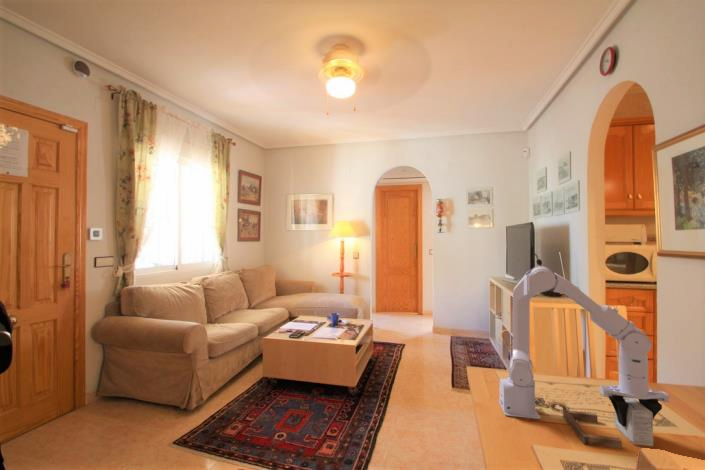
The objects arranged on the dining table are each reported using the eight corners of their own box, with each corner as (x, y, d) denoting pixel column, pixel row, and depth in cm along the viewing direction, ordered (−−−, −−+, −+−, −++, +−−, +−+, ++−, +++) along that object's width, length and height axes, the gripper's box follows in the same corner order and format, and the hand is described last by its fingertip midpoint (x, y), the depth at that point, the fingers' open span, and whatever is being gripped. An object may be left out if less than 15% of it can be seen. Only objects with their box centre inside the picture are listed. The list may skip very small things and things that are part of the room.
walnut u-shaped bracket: (584, 444, 79) (584, 436, 79) (562, 416, 91) (562, 409, 91) (622, 449, 77) (621, 441, 77) (595, 420, 89) (595, 413, 89)
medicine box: (654, 447, 77) (654, 412, 78) (632, 445, 78) (632, 410, 78) (633, 428, 85) (633, 396, 85) (614, 426, 86) (614, 394, 86)
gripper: (655, 369, 84) (655, 420, 84) (593, 365, 87) (593, 413, 87) (675, 381, 77) (676, 436, 77) (607, 376, 80) (608, 428, 80)
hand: (633, 425), depth 82 cm, fingers open, 5 cm apart
